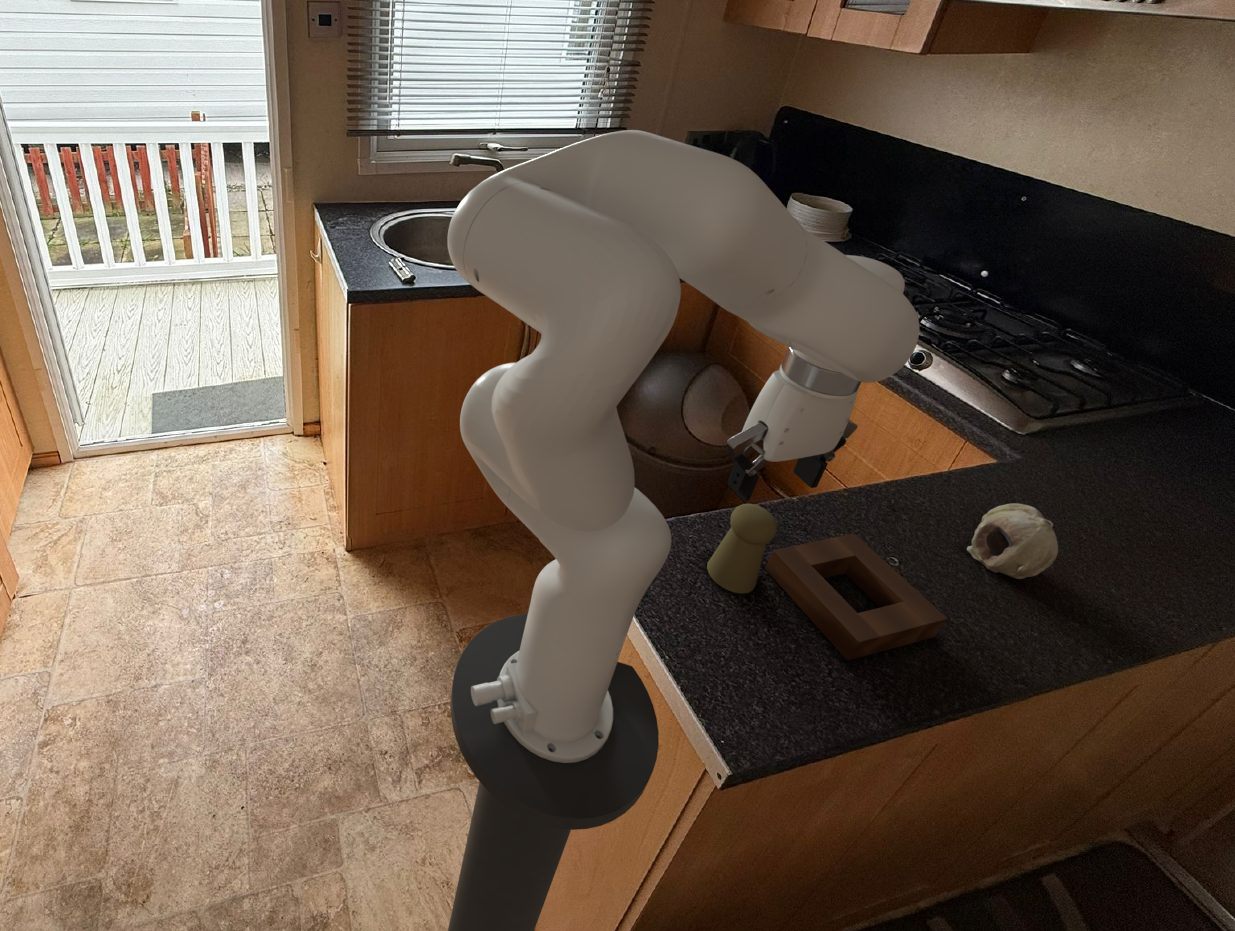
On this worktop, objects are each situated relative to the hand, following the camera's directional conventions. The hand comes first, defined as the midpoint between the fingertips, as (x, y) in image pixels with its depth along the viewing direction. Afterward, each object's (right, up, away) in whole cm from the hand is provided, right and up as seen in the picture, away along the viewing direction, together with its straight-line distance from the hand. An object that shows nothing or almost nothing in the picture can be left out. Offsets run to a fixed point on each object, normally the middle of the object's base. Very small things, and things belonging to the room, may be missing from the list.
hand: (771, 486), depth 80 cm
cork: (-1, -14, +8) cm, 16 cm away
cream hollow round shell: (+38, -14, +12) cm, 42 cm away
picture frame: (+12, -16, +5) cm, 21 cm away
